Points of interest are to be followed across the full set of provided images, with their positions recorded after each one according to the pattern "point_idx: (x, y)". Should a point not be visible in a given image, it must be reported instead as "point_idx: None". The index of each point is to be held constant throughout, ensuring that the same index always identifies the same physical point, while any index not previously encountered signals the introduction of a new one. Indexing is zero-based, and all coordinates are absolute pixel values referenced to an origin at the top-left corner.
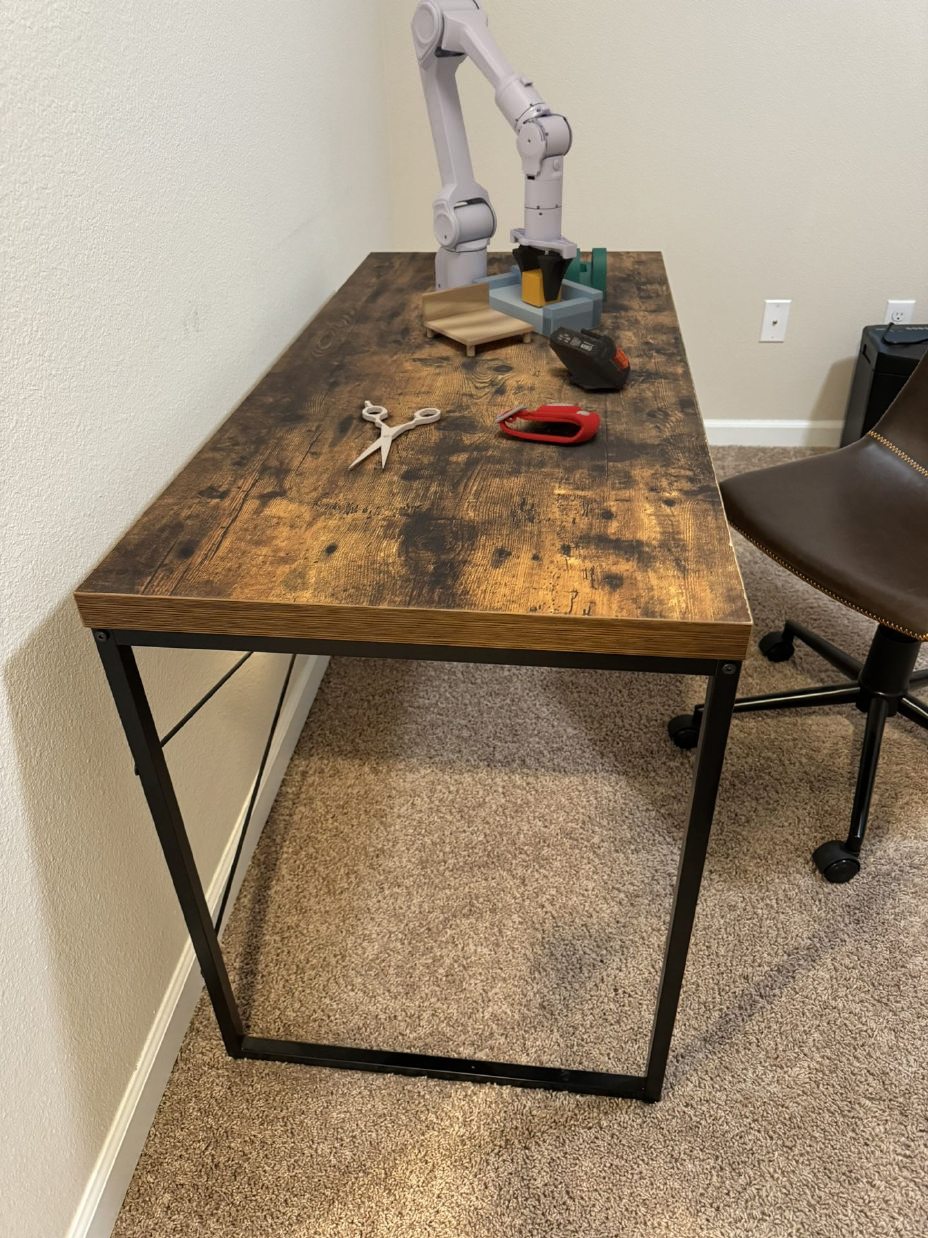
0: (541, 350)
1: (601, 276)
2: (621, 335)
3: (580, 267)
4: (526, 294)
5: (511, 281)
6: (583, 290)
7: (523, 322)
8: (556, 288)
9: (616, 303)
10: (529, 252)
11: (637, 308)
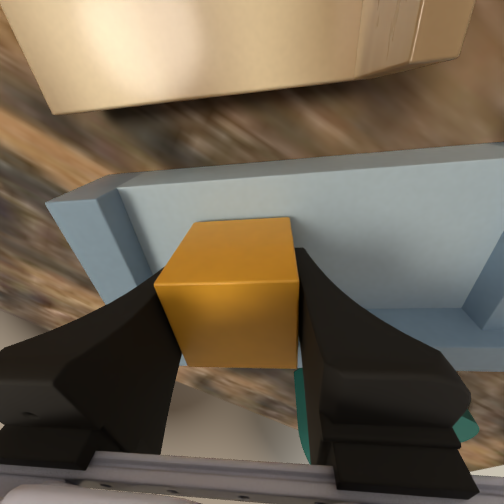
0: (7, 86)
1: (303, 416)
2: (98, 297)
3: None
4: (260, 229)
5: (481, 295)
6: None
7: (100, 99)
8: None
9: (269, 374)
10: (317, 410)
11: (228, 377)
